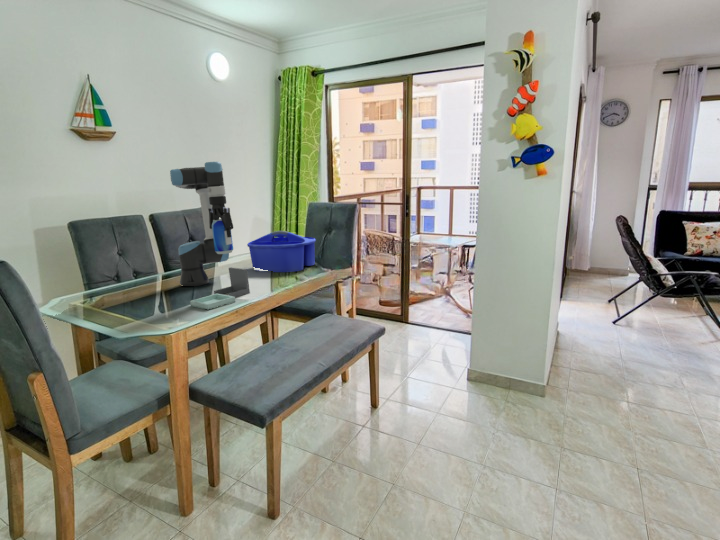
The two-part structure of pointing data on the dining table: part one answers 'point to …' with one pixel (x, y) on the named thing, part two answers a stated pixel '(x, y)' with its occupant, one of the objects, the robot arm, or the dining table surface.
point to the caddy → (282, 252)
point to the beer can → (220, 238)
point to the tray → (212, 301)
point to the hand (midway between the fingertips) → (223, 243)
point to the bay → (236, 283)
